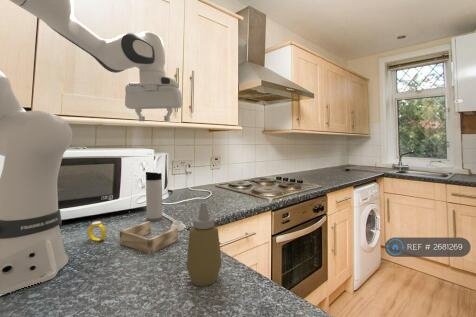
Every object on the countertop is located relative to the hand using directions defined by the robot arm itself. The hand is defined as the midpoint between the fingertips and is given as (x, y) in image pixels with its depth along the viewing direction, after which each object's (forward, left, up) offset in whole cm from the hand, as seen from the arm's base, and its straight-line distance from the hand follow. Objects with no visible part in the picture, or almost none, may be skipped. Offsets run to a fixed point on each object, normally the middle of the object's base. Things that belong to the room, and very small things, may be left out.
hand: (154, 121), depth 85 cm
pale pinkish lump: (+3, -8, -40) cm, 41 cm away
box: (-9, -8, -40) cm, 42 cm away
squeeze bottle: (-17, -36, -40) cm, 56 cm away
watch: (-17, +8, -40) cm, 44 cm away
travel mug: (+7, +9, -40) cm, 41 cm away
